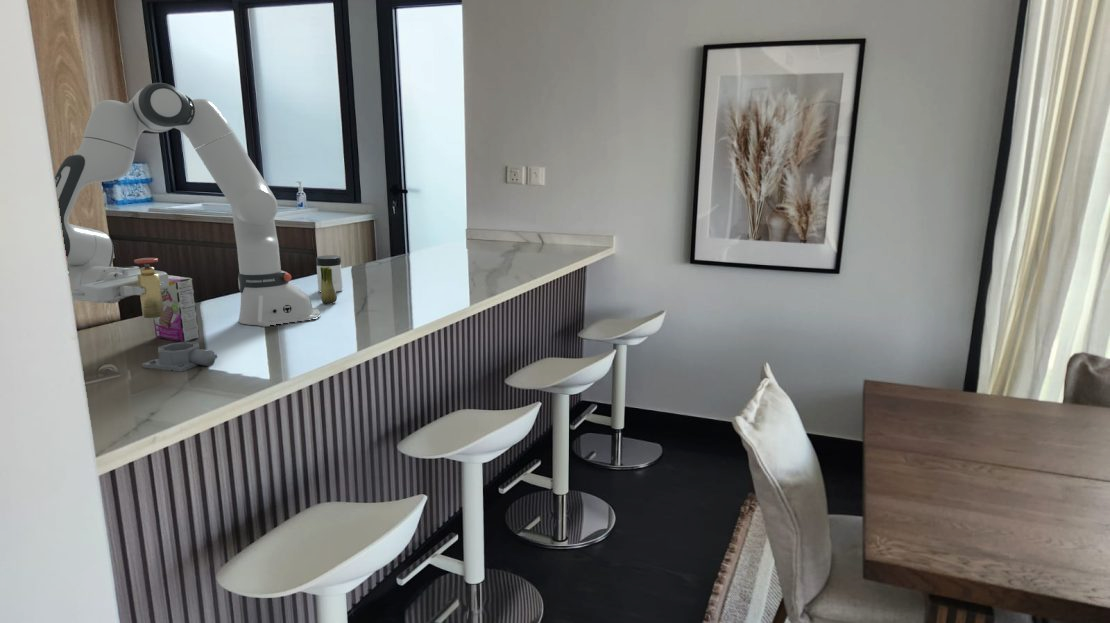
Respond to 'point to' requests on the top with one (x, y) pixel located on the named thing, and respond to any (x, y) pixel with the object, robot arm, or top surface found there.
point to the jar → (335, 265)
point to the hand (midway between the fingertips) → (153, 288)
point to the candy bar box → (178, 311)
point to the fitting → (181, 357)
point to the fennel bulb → (327, 286)
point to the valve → (150, 289)
